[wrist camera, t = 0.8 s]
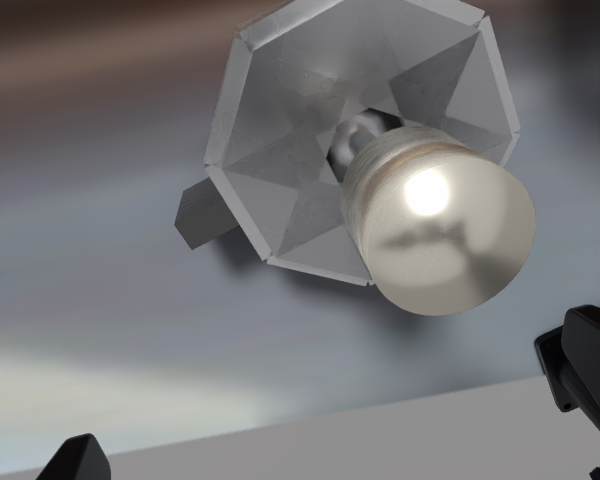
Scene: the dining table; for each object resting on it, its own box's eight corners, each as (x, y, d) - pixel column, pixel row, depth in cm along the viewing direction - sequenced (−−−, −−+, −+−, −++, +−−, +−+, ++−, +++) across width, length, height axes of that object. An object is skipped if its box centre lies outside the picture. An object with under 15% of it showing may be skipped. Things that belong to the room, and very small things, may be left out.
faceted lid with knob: (482, 163, 23) (550, 207, 18) (248, 281, 24) (252, 353, 19) (404, -69, 19) (467, -96, 14) (122, 91, 20) (84, 120, 15)
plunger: (482, 178, 19) (650, 296, 11) (311, 264, 20) (360, 430, 12) (417, -17, 16) (590, -35, 8) (214, 95, 17) (197, 176, 9)
